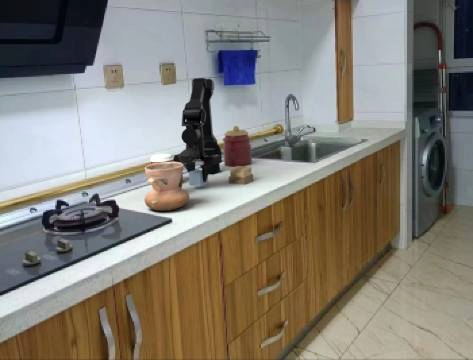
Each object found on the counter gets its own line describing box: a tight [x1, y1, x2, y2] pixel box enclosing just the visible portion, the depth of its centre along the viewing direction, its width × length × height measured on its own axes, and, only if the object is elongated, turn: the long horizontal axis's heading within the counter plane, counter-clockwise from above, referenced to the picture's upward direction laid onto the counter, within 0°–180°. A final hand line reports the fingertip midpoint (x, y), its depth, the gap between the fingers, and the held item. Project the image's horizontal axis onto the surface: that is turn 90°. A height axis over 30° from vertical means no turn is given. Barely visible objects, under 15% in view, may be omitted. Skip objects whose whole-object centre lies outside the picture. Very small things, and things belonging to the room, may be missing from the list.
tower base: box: [228, 173, 255, 186], centre depth 192 cm, size 7×7×3 cm
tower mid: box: [229, 165, 253, 178], centre depth 191 cm, size 6×6×3 cm
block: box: [188, 169, 209, 187], centre depth 185 cm, size 5×5×5 cm
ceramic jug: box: [144, 162, 190, 212], centre depth 161 cm, size 18×14×14 cm
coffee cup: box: [149, 153, 174, 164], centre depth 174 cm, size 8×8×15 cm
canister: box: [222, 125, 253, 167], centre depth 227 cm, size 13×13×18 cm
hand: (198, 181), depth 186 cm, fingers closed on block, 5 cm apart
